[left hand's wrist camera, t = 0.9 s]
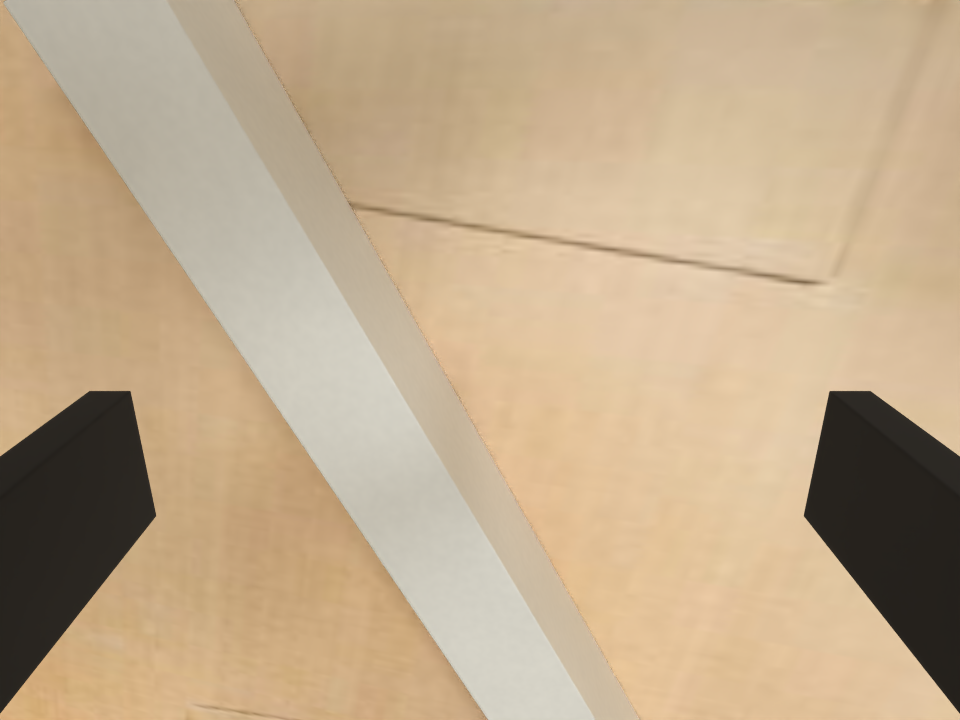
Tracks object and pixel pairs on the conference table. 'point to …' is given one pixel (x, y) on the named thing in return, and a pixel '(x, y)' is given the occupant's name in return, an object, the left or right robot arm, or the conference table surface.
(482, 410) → the conference table surface
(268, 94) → the bar
